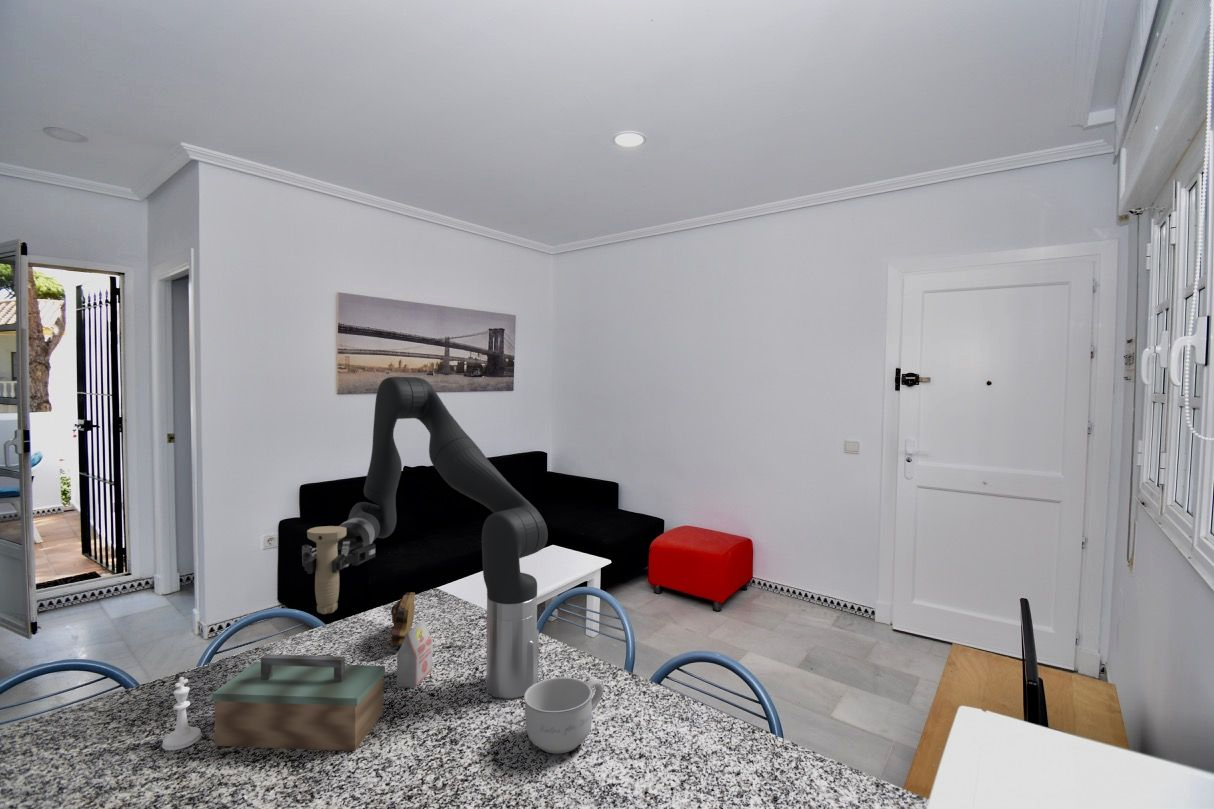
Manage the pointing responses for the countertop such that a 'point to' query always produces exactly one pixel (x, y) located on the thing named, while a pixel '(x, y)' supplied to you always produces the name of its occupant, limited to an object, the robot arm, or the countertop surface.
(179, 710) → the chess piece
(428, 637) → the milk carton
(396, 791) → the countertop surface
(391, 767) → the countertop surface
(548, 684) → the teacup
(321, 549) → the handle
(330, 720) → the toolbox
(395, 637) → the wooden carving
